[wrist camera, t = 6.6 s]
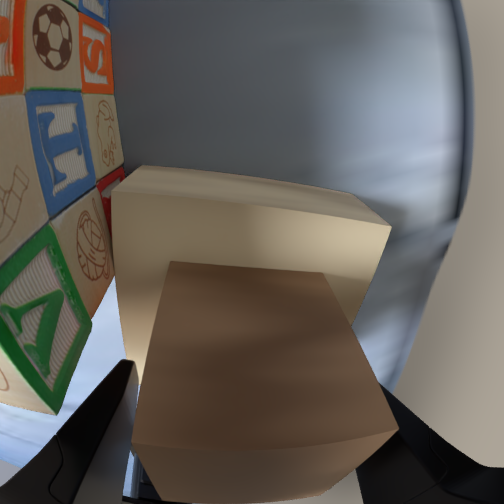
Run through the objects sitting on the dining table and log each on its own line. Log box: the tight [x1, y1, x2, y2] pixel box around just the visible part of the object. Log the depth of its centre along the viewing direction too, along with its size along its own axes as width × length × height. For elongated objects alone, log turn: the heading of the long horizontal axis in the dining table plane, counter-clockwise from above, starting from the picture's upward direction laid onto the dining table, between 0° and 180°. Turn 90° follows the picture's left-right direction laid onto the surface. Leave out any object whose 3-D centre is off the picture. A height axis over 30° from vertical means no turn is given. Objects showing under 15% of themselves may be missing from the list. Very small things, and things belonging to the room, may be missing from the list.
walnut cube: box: [131, 261, 399, 504], centre depth 8 cm, size 5×5×6 cm
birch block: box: [111, 165, 392, 385], centre depth 12 cm, size 9×9×4 cm
